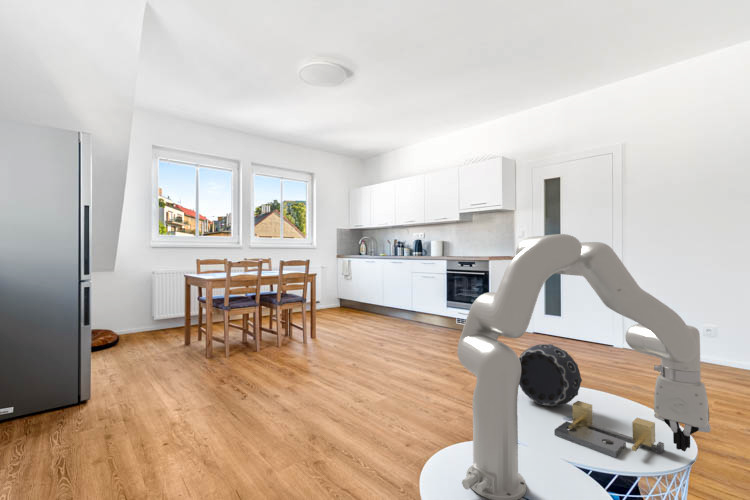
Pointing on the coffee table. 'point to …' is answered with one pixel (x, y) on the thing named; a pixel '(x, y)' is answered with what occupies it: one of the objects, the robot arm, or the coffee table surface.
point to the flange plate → (591, 439)
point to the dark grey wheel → (549, 375)
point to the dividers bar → (585, 419)
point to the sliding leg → (643, 433)
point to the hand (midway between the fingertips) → (681, 448)
